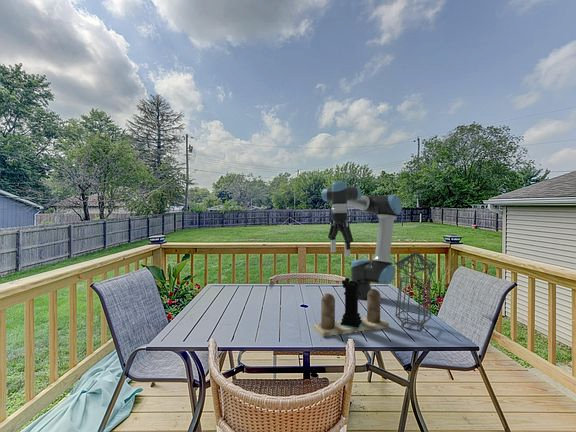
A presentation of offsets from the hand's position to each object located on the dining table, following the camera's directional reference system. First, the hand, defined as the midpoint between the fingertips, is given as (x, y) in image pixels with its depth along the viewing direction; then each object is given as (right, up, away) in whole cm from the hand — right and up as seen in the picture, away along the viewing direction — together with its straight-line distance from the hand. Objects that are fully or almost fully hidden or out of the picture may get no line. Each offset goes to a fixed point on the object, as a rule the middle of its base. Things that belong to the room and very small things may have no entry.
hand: (340, 254), depth 154 cm
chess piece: (+3, -30, -15) cm, 34 cm away
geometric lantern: (+33, -33, -13) cm, 48 cm away
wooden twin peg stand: (+3, -32, -15) cm, 36 cm away
